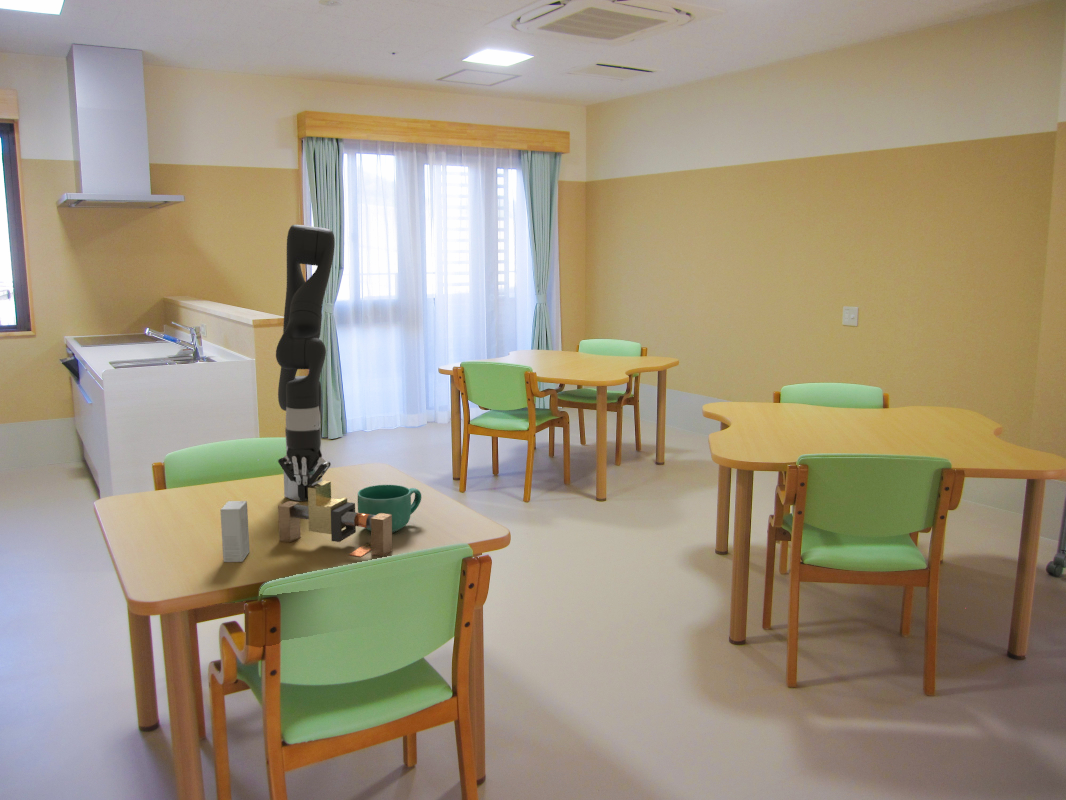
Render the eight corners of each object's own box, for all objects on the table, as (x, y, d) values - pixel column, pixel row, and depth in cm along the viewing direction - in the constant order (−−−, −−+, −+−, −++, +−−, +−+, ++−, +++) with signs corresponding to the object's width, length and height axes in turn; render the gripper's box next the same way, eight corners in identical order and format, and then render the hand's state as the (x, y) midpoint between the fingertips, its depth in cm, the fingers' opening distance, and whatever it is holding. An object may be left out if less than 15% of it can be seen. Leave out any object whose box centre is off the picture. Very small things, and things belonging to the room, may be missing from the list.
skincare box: (230, 552, 181) (227, 500, 179) (250, 552, 181) (247, 500, 179) (222, 562, 175) (219, 509, 173) (242, 562, 175) (240, 509, 173)
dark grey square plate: (331, 541, 182) (330, 510, 181) (348, 531, 189) (347, 502, 187) (339, 542, 181) (338, 512, 180) (355, 532, 188) (355, 503, 187)
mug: (371, 541, 190) (371, 502, 188) (349, 526, 199) (348, 489, 198) (434, 528, 199) (434, 491, 197) (410, 515, 209) (410, 479, 207)
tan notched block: (308, 531, 184) (306, 488, 182) (325, 522, 190) (324, 480, 188) (331, 535, 182) (330, 491, 180) (347, 525, 188) (346, 482, 187)
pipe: (274, 543, 187) (272, 508, 185) (294, 532, 194) (293, 498, 193) (379, 559, 178) (378, 522, 177) (396, 547, 186) (395, 511, 184)
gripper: (268, 426, 182) (270, 501, 185) (319, 431, 178) (321, 508, 181) (288, 420, 189) (290, 492, 192) (337, 425, 185) (339, 498, 188)
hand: (305, 499), depth 187 cm, fingers closed
